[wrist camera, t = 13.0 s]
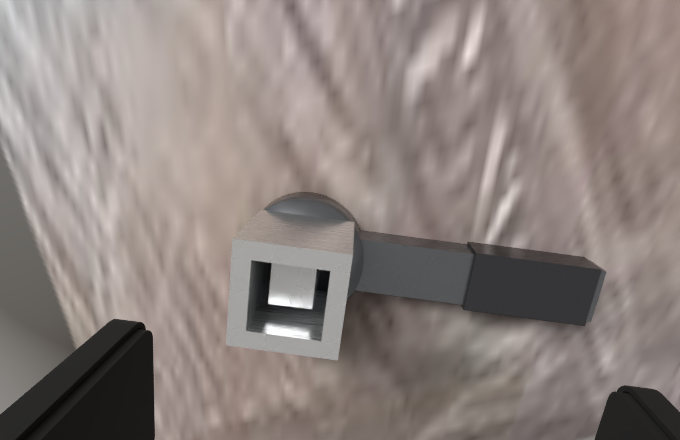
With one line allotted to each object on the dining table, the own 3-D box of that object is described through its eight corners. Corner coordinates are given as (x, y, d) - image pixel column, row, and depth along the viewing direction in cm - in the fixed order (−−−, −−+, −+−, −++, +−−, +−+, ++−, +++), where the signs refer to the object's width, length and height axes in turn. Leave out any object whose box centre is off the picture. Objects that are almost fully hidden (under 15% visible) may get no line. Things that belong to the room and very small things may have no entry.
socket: (354, 222, 27) (352, 254, 21) (342, 308, 29) (337, 360, 23) (259, 209, 27) (232, 238, 21) (252, 296, 29) (226, 345, 23)
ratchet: (599, 230, 29) (665, 265, 23) (568, 335, 31) (619, 394, 25) (253, 185, 29) (225, 207, 23) (246, 292, 32) (217, 339, 25)
